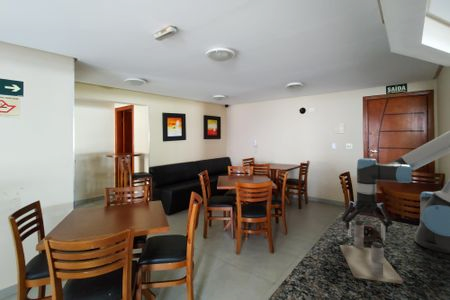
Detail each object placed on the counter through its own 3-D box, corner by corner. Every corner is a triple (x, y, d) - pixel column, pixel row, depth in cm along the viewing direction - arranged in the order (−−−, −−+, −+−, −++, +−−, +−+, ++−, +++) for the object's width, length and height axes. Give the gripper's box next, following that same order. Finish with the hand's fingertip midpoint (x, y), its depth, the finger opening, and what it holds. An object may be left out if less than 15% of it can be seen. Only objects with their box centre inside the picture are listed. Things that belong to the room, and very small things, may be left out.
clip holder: (376, 251, 91) (377, 222, 90) (403, 285, 70) (404, 248, 69) (339, 247, 95) (339, 219, 94) (354, 278, 74) (354, 243, 73)
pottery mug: (389, 247, 95) (383, 233, 93) (368, 255, 96) (361, 241, 94) (373, 229, 106) (367, 216, 104) (354, 236, 108) (348, 224, 106)
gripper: (394, 191, 100) (393, 236, 101) (334, 189, 107) (334, 231, 108) (402, 195, 93) (401, 244, 94) (338, 192, 100) (338, 238, 101)
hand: (365, 237), depth 101 cm, fingers open, 13 cm apart
